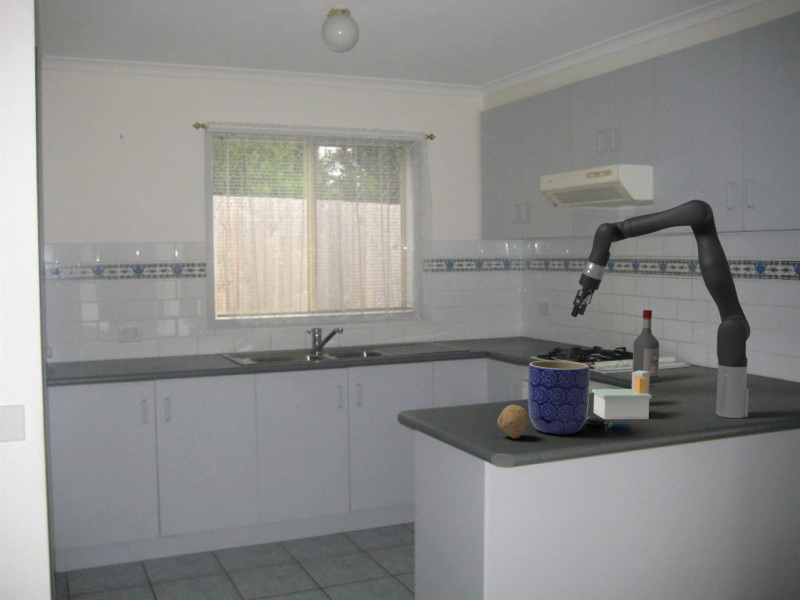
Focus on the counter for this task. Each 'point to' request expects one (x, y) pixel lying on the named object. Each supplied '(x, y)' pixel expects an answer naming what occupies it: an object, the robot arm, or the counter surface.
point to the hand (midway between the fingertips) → (577, 315)
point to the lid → (626, 390)
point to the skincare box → (643, 374)
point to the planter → (558, 396)
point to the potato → (513, 421)
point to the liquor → (646, 350)
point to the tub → (621, 408)
